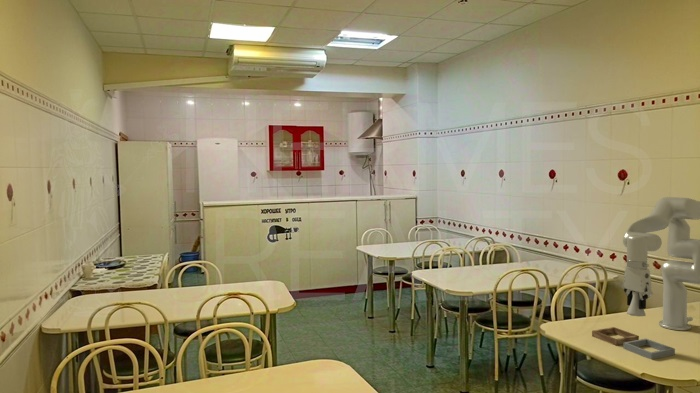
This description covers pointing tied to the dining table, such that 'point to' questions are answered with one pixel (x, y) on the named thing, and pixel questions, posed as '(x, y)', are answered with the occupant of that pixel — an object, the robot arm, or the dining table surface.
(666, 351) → the bin grey
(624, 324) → the dining table surface
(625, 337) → the bin walnut
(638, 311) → the flask
